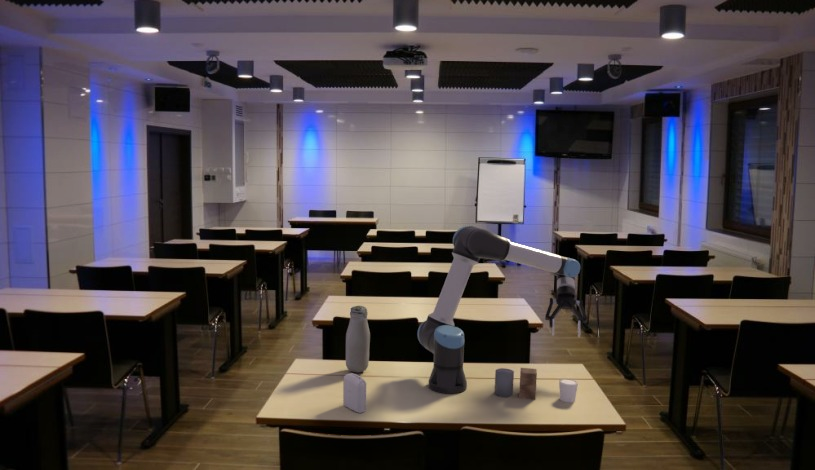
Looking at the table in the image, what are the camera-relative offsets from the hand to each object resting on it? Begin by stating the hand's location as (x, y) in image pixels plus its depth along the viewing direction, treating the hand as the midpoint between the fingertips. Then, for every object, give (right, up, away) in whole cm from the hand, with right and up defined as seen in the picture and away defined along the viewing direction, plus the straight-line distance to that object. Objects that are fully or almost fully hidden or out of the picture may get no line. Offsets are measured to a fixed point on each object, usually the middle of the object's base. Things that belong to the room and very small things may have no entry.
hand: (566, 334), depth 263 cm
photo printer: (-84, -21, -35) cm, 93 cm away
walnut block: (-19, -21, -18) cm, 33 cm away
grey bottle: (-86, -16, +5) cm, 88 cm away
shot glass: (-5, -22, -20) cm, 30 cm away
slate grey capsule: (-28, -20, -16) cm, 38 cm away
